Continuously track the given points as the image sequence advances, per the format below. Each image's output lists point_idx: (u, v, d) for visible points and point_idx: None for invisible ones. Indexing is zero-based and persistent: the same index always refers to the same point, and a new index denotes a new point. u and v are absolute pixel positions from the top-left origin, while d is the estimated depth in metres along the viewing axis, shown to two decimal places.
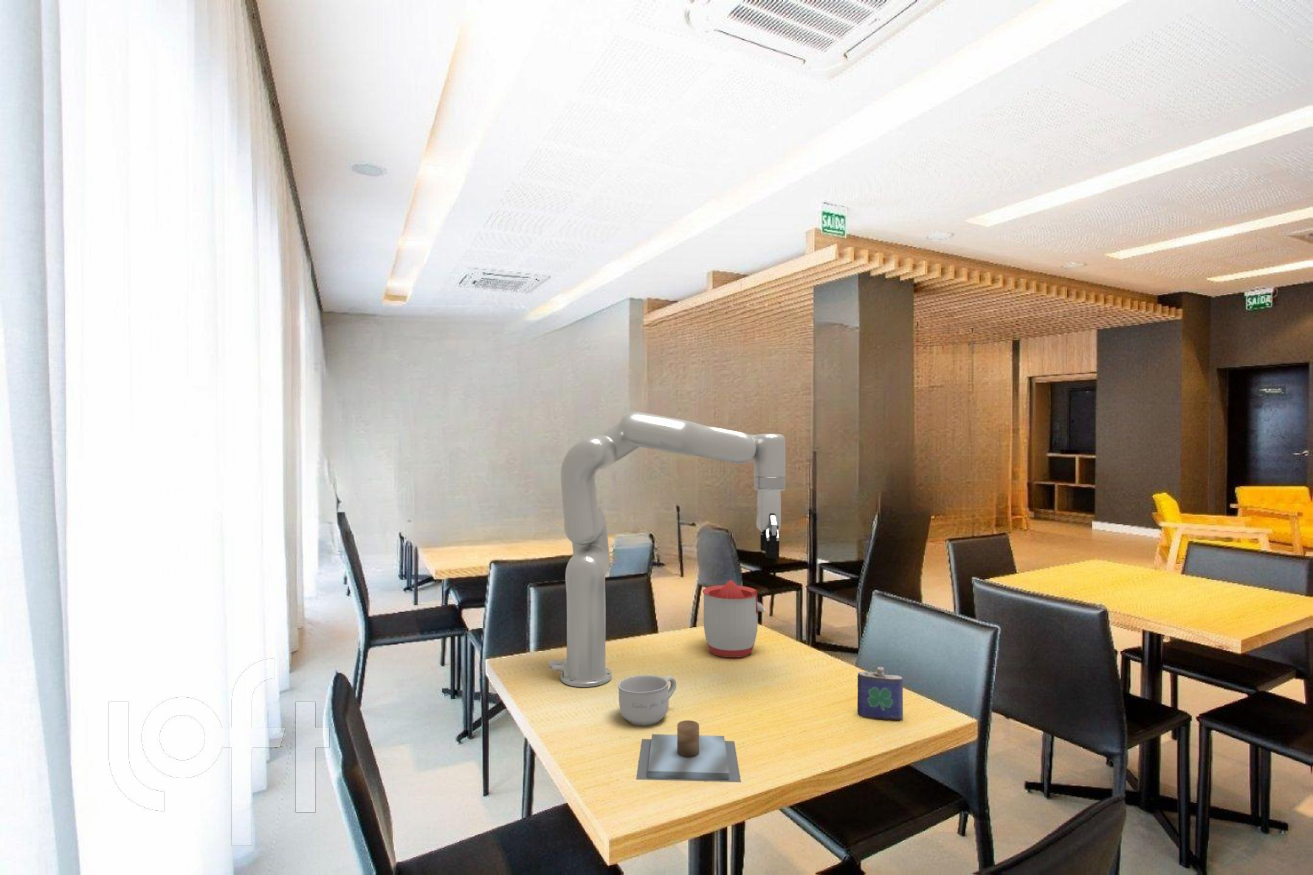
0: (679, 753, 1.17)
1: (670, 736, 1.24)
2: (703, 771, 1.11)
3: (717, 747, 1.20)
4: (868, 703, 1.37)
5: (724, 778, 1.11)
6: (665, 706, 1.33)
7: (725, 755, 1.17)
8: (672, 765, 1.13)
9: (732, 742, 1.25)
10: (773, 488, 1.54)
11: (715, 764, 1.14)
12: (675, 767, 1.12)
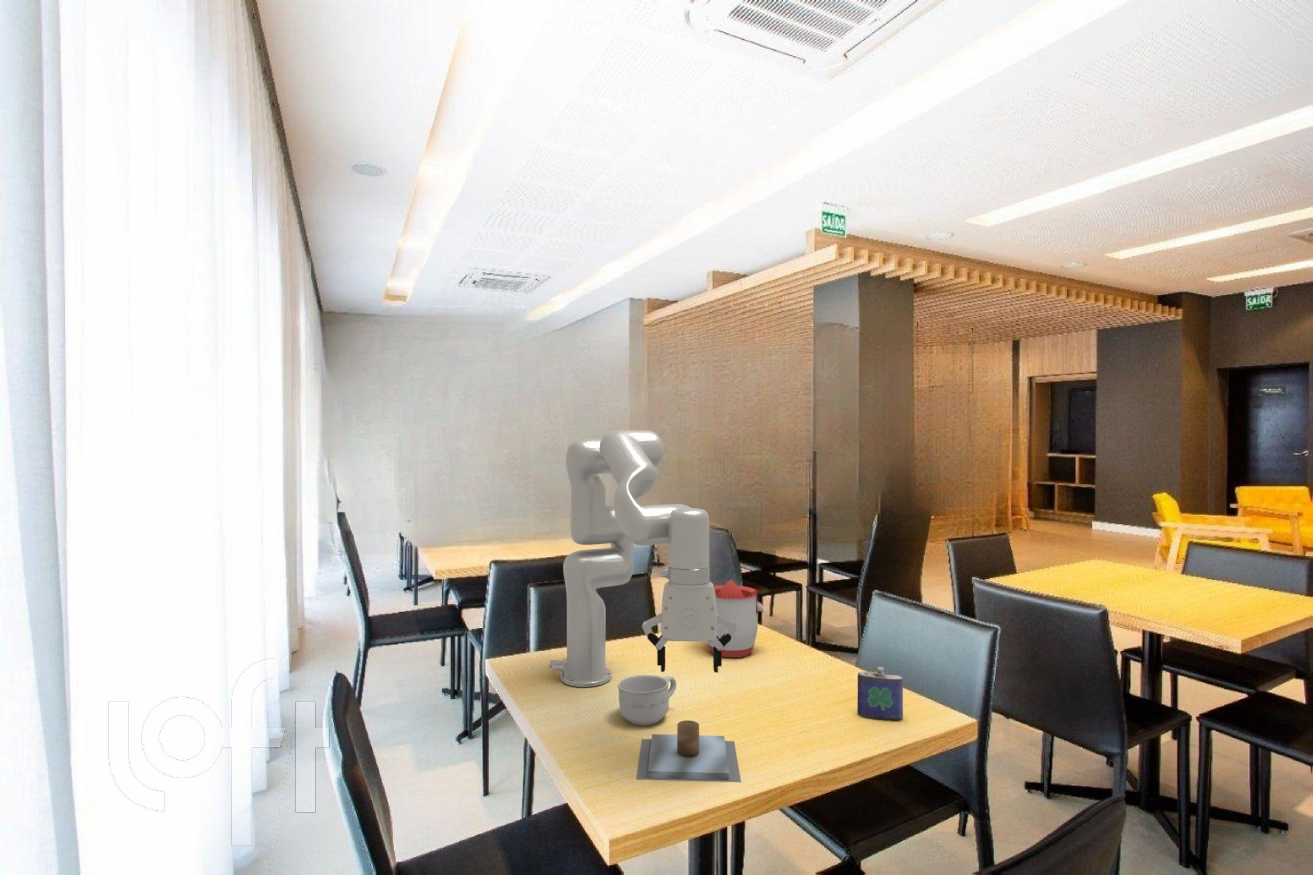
0: (679, 753, 1.17)
1: (670, 736, 1.24)
2: (703, 771, 1.11)
3: (717, 747, 1.20)
4: (868, 703, 1.37)
5: (724, 778, 1.11)
6: (665, 706, 1.33)
7: (725, 755, 1.17)
8: (672, 765, 1.13)
9: (732, 742, 1.25)
10: None
11: (715, 764, 1.14)
12: (675, 767, 1.12)
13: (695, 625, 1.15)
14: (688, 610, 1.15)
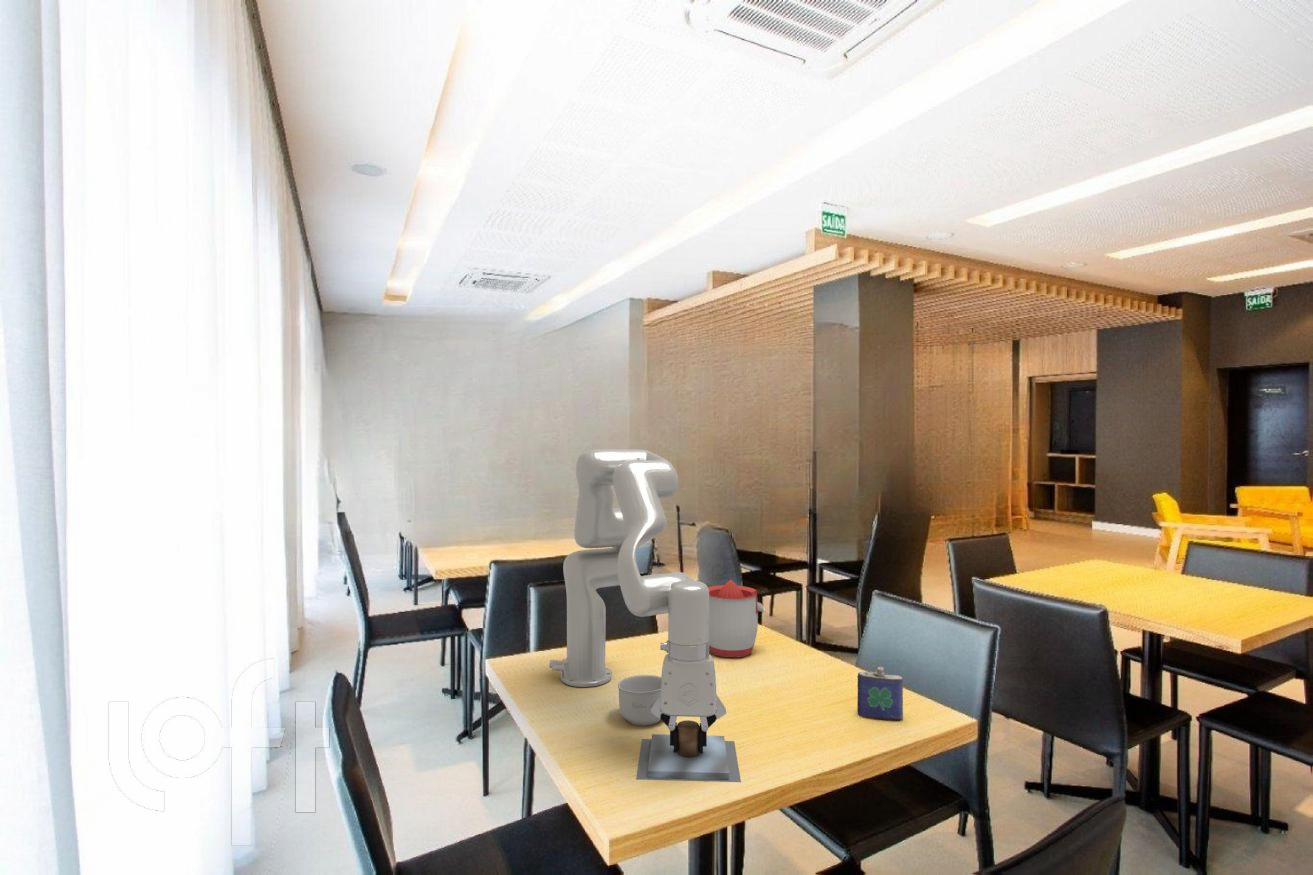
0: (679, 753, 1.17)
1: None
2: (703, 771, 1.11)
3: (717, 747, 1.20)
4: (868, 703, 1.37)
5: (724, 778, 1.11)
6: None
7: (725, 755, 1.17)
8: (672, 765, 1.13)
9: (732, 742, 1.25)
10: None
11: (715, 764, 1.14)
12: (675, 767, 1.12)
13: (694, 700, 1.15)
14: (687, 685, 1.15)
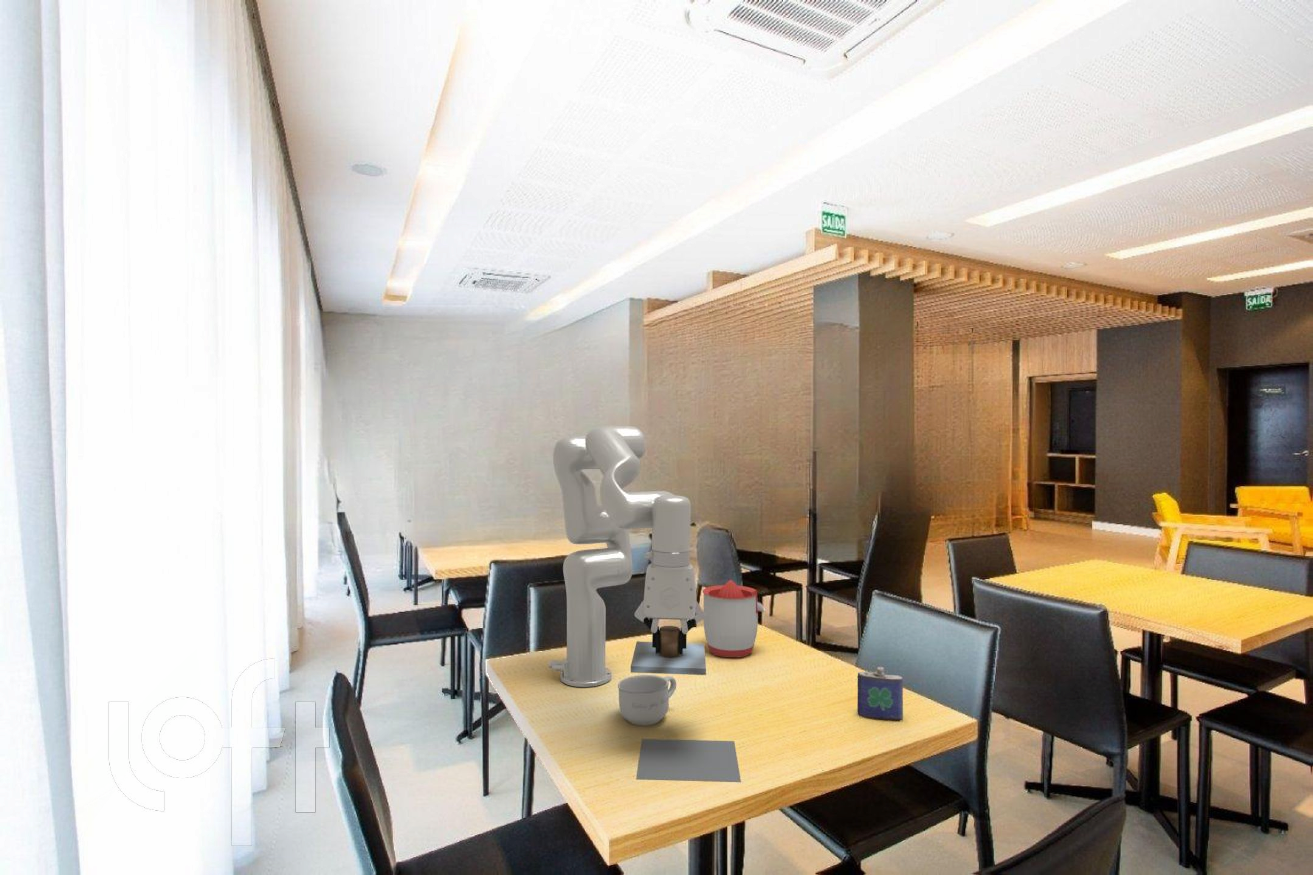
0: (661, 654, 1.25)
1: None
2: (682, 667, 1.20)
3: (696, 651, 1.28)
4: (868, 703, 1.37)
5: (701, 673, 1.19)
6: (665, 706, 1.33)
7: (703, 656, 1.25)
8: (653, 662, 1.22)
9: (732, 742, 1.25)
10: None
11: (693, 662, 1.22)
12: (656, 664, 1.21)
13: (675, 604, 1.23)
14: (669, 590, 1.23)
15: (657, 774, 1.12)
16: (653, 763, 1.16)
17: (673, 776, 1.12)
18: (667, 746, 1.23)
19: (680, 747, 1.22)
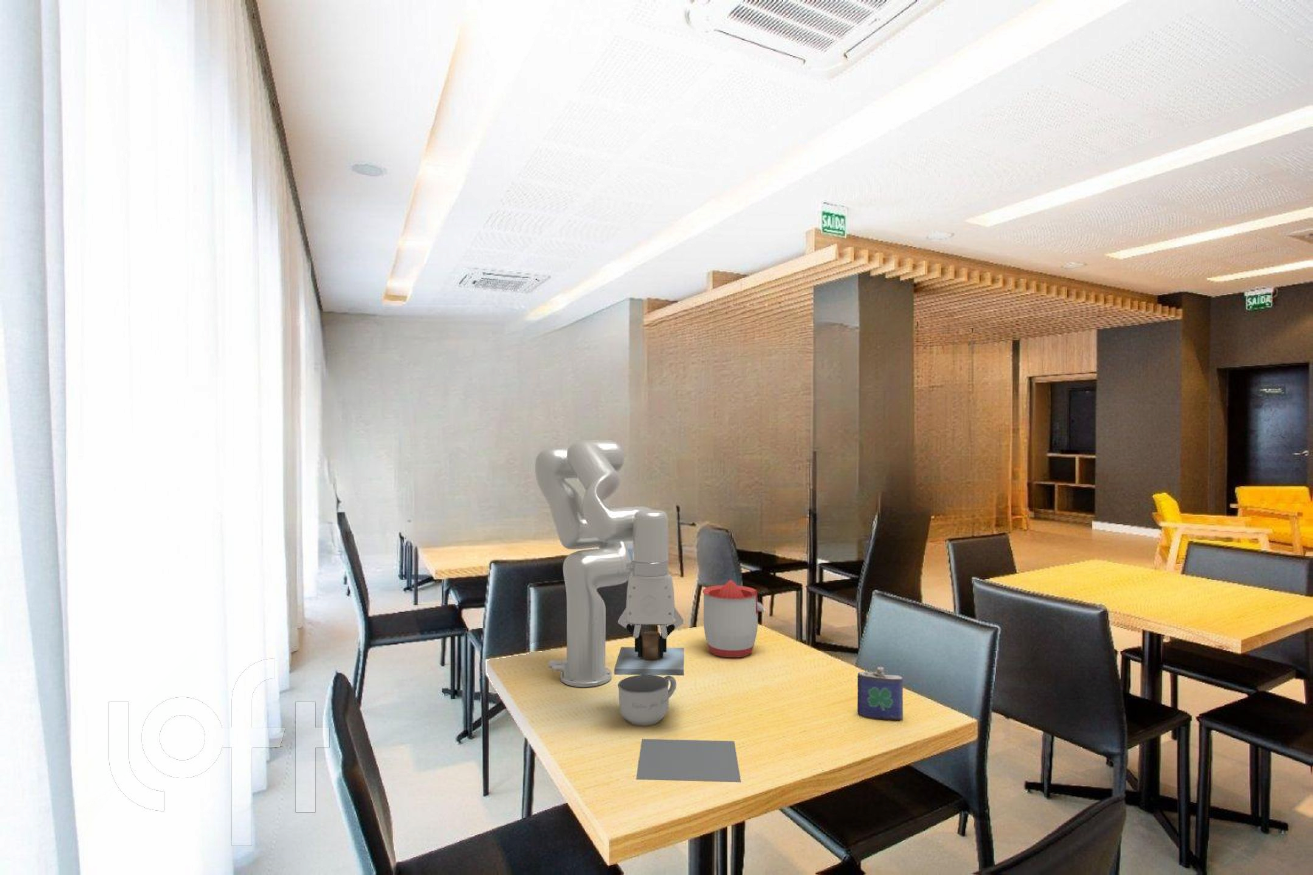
0: (642, 657, 1.35)
1: None
2: (661, 668, 1.29)
3: (676, 654, 1.38)
4: (868, 703, 1.37)
5: (679, 674, 1.29)
6: (665, 706, 1.33)
7: (682, 659, 1.35)
8: (635, 665, 1.31)
9: (732, 742, 1.25)
10: None
11: (672, 664, 1.32)
12: (638, 666, 1.31)
13: (655, 611, 1.34)
14: (649, 598, 1.34)
15: (657, 774, 1.12)
16: (653, 763, 1.16)
17: (673, 776, 1.12)
18: (667, 746, 1.23)
19: (680, 747, 1.22)
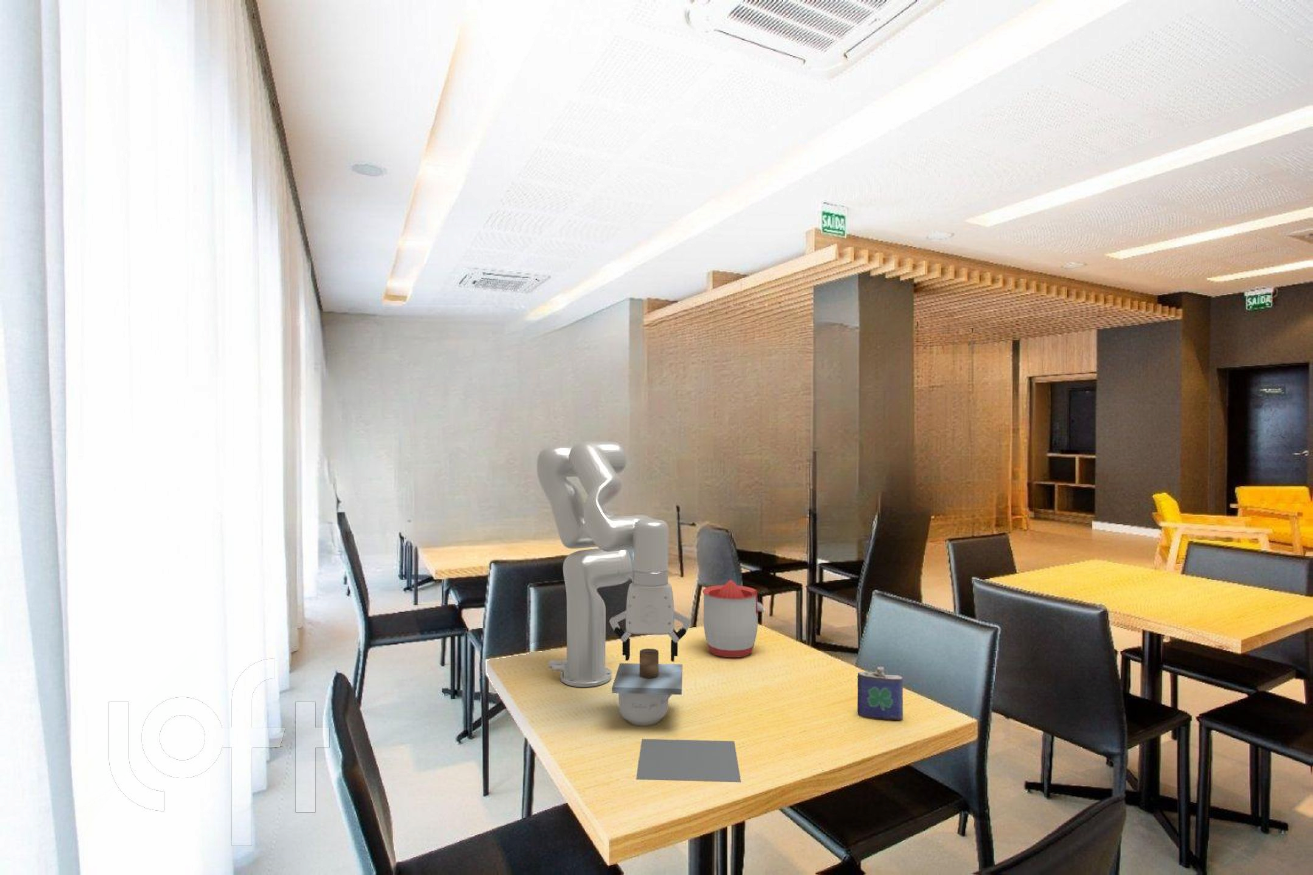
0: (641, 675, 1.35)
1: (635, 664, 1.42)
2: (659, 687, 1.29)
3: (674, 672, 1.38)
4: (868, 703, 1.37)
5: (677, 693, 1.29)
6: (665, 706, 1.33)
7: (680, 677, 1.35)
8: (633, 683, 1.31)
9: (732, 742, 1.25)
10: None
11: (670, 683, 1.32)
12: (636, 685, 1.31)
13: (654, 620, 1.34)
14: (649, 607, 1.34)
15: (657, 774, 1.12)
16: (653, 763, 1.16)
17: (673, 776, 1.12)
18: (667, 746, 1.23)
19: (680, 747, 1.22)
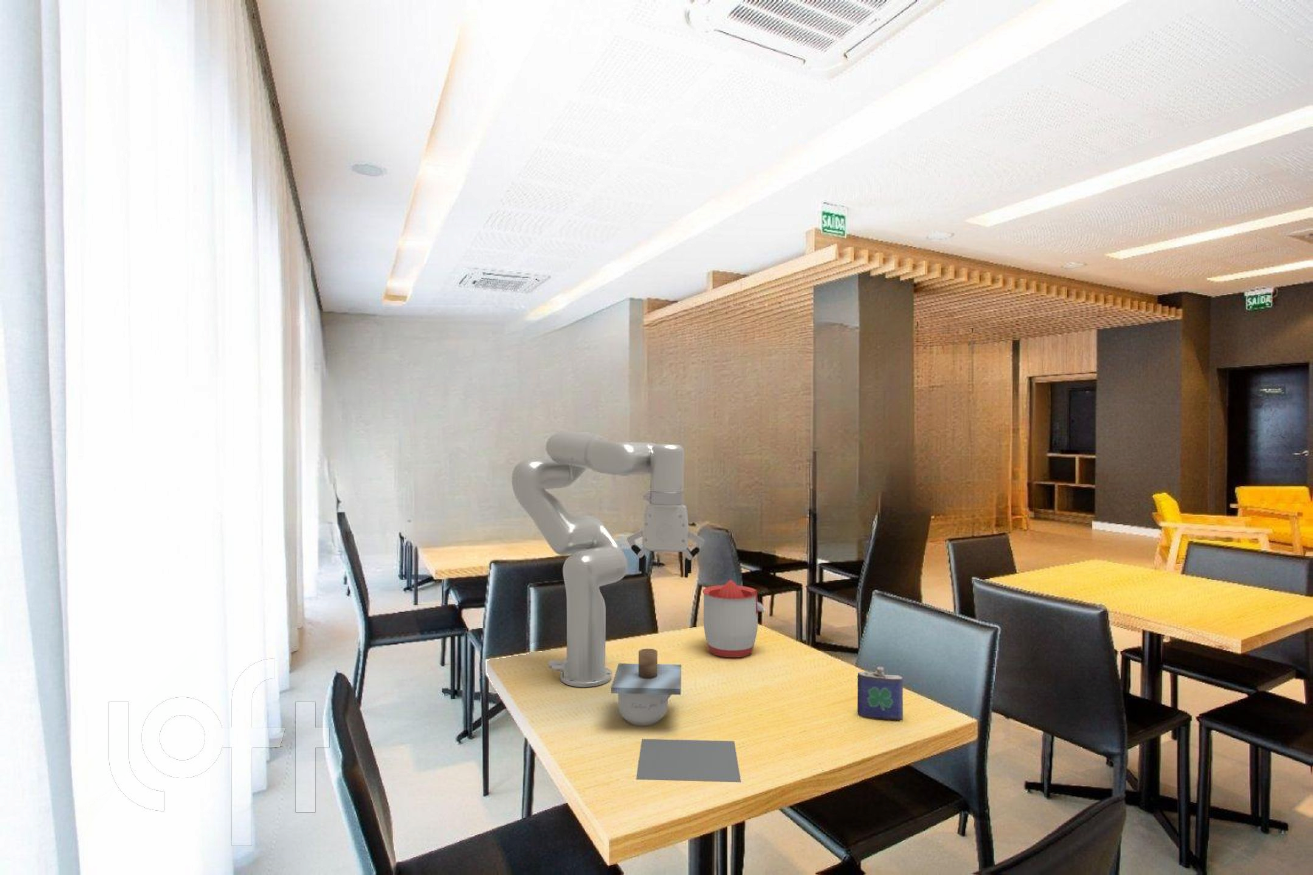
0: (640, 675, 1.35)
1: (634, 664, 1.42)
2: (658, 687, 1.29)
3: (673, 672, 1.38)
4: (868, 703, 1.37)
5: (676, 693, 1.29)
6: (664, 706, 1.33)
7: (679, 677, 1.35)
8: (632, 683, 1.31)
9: (732, 742, 1.25)
10: None
11: (669, 683, 1.32)
12: (635, 685, 1.31)
13: (669, 538, 1.41)
14: (664, 526, 1.41)
15: (657, 774, 1.12)
16: (653, 763, 1.16)
17: (673, 776, 1.12)
18: (667, 746, 1.23)
19: (680, 747, 1.22)
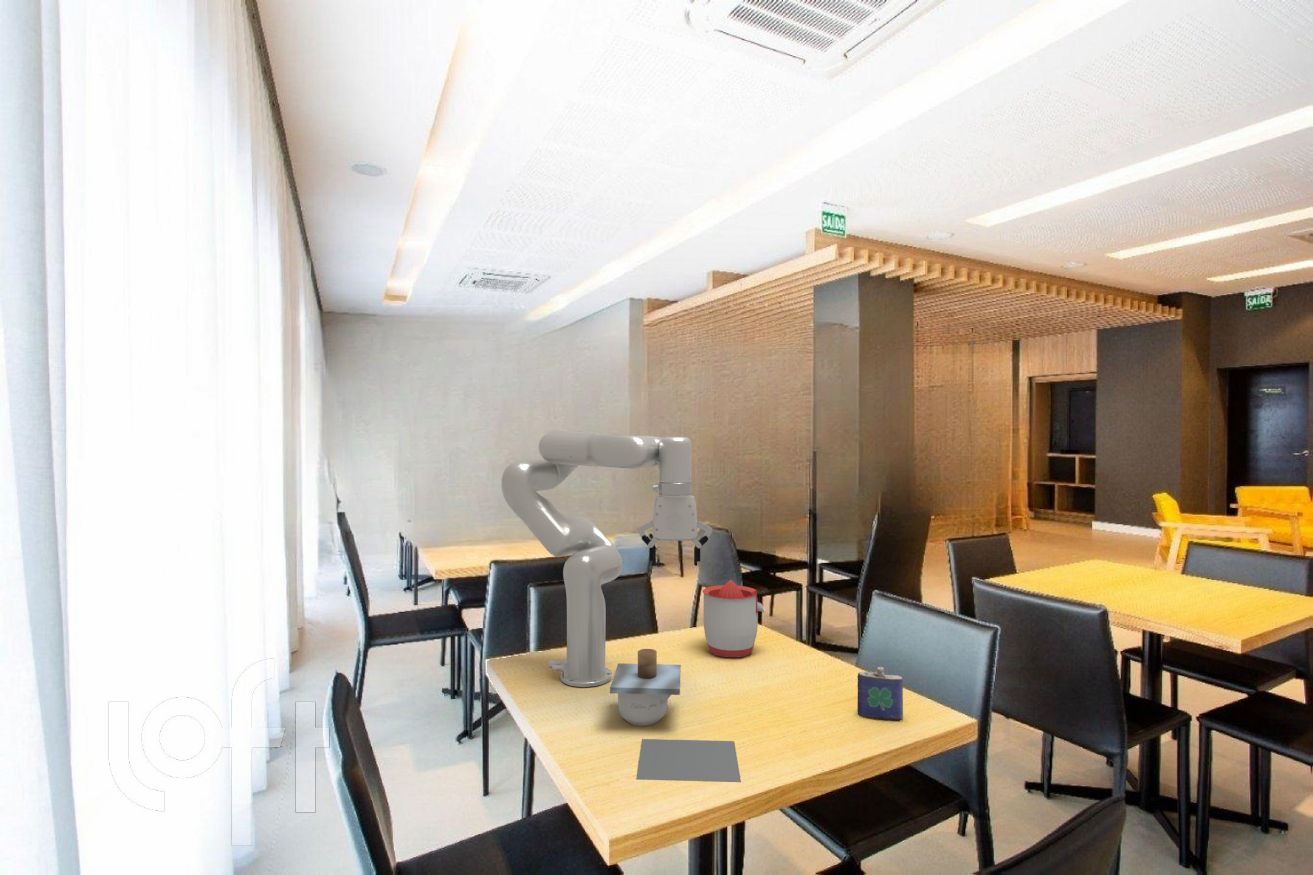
0: (639, 675, 1.35)
1: (633, 664, 1.42)
2: (657, 687, 1.29)
3: (673, 672, 1.38)
4: (868, 703, 1.37)
5: (675, 693, 1.29)
6: (664, 706, 1.33)
7: (679, 677, 1.35)
8: (631, 683, 1.31)
9: (732, 742, 1.25)
10: None
11: (668, 683, 1.32)
12: (634, 685, 1.30)
13: (679, 527, 1.45)
14: (674, 515, 1.46)
15: (657, 774, 1.12)
16: (653, 763, 1.16)
17: (673, 776, 1.12)
18: (667, 746, 1.23)
19: (680, 747, 1.22)
